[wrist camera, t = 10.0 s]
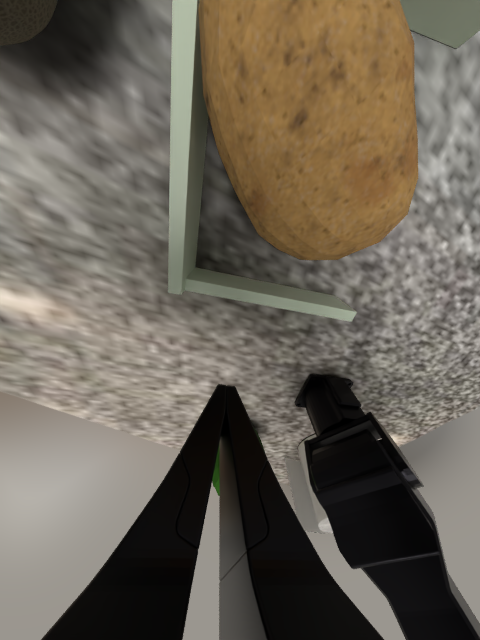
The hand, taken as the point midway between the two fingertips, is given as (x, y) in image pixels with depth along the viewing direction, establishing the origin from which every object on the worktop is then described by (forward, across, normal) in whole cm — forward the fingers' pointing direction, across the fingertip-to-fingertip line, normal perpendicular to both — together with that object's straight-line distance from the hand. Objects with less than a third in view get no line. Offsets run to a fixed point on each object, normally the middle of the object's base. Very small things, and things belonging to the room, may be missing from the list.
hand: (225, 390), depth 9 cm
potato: (+12, -2, -12) cm, 17 cm away
